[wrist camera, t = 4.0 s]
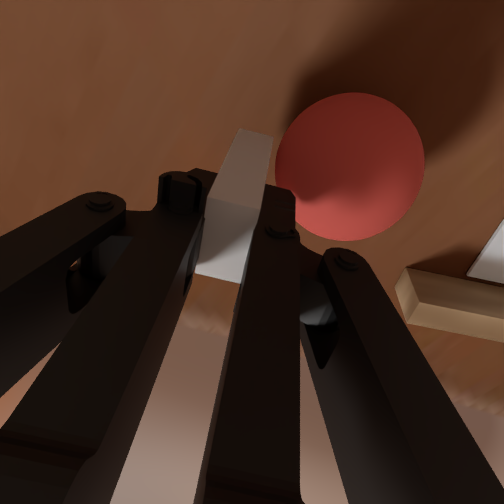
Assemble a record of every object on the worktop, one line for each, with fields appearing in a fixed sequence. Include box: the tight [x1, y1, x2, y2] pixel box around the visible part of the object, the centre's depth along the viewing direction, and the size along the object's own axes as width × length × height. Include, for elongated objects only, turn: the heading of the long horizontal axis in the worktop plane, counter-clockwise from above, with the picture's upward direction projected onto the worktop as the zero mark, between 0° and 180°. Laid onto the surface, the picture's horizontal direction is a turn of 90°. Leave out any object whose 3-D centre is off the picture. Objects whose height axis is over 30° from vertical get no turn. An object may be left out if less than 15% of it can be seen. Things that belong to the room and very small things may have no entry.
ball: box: [275, 92, 425, 241], centre depth 16 cm, size 6×6×6 cm
